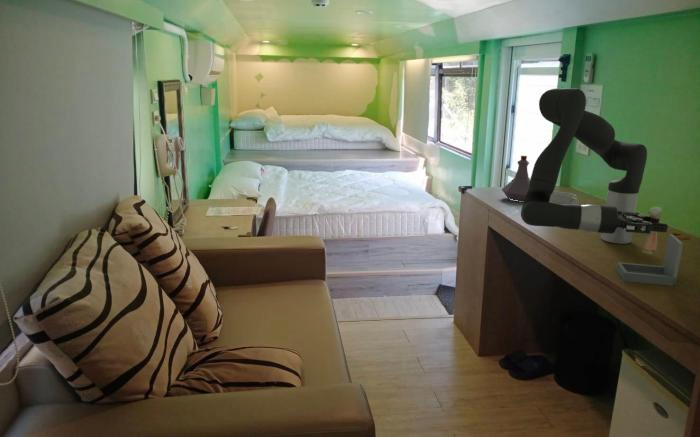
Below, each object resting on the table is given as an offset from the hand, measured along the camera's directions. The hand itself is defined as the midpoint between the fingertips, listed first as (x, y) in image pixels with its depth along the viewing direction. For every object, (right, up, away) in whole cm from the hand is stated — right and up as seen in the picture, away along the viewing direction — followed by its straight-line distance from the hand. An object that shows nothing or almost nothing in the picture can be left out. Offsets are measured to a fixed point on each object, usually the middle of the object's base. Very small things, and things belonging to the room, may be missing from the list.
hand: (662, 224), depth 142 cm
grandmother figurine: (-2, -8, +3) cm, 8 cm away
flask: (-8, +10, +96) cm, 97 cm away
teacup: (+3, +4, +75) cm, 75 cm away
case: (-2, -15, +5) cm, 16 cm away
